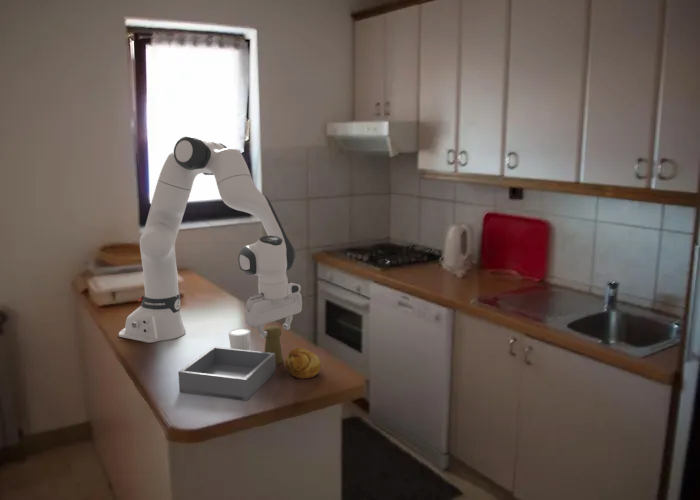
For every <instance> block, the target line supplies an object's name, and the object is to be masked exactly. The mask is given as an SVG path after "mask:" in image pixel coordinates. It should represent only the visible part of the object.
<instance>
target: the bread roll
mask: <svg viewBox="0 0 700 500" xmlns="http://www.w3.org/2000/svg"><path fill="white" fill-rule="evenodd" d="M321 365H322V364H321V361H320V358H319V356H318V354H315V353H314V352H310V351H309V350H308V349H306V348H303V347H297V348H294V349H292V350H290V351H288V353H287V355H286V358H285V368H286V370H287V372H288V373H289V375H291V376H292V377H294V378H295V379H301V380H303V379H309V378H313V377H316V375H318V374H319V372H321V371H320V370H321V368H322V367H321Z"/></svg>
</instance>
